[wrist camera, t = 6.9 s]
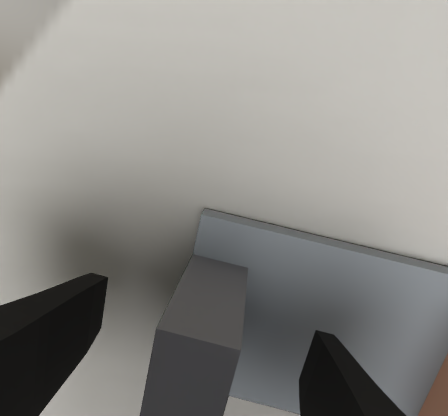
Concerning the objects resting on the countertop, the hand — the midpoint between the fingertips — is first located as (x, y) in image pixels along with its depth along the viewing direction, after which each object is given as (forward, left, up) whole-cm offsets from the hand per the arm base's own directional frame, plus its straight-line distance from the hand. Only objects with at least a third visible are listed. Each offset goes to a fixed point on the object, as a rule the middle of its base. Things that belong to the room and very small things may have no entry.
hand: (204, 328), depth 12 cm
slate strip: (0, -7, -2) cm, 7 cm away
